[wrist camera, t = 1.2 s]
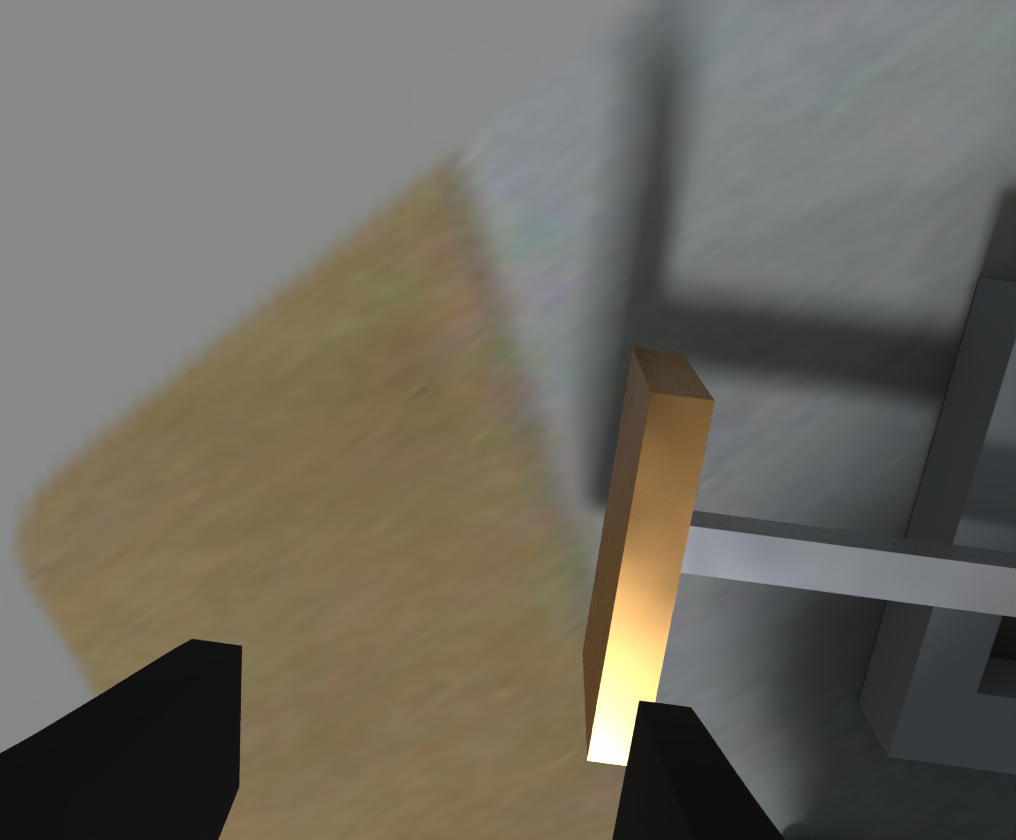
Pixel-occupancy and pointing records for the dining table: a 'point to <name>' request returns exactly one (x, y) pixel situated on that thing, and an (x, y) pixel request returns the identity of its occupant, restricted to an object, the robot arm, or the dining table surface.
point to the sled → (725, 552)
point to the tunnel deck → (967, 522)
